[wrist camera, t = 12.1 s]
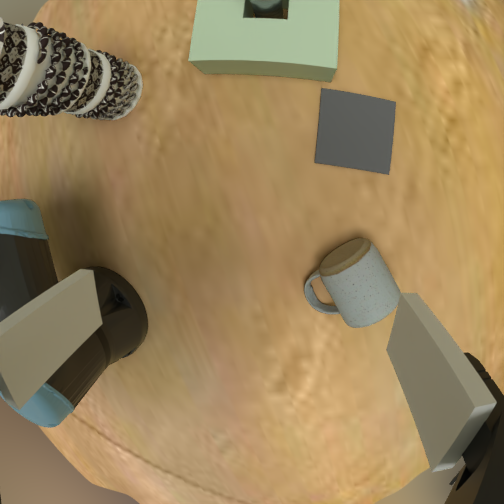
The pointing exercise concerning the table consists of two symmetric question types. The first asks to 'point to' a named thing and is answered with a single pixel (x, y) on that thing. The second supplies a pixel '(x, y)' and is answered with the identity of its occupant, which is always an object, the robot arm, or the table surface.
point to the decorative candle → (62, 76)
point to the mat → (355, 131)
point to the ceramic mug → (356, 284)
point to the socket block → (266, 39)
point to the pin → (268, 9)
